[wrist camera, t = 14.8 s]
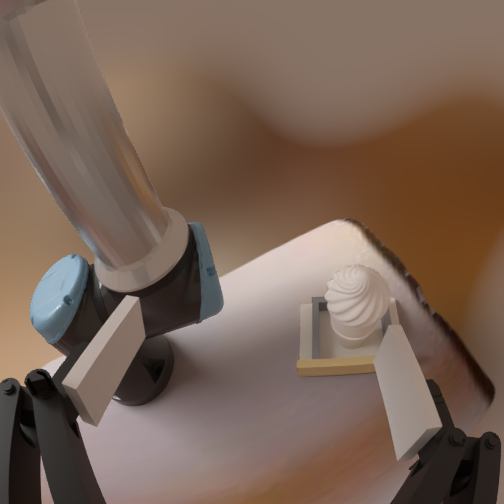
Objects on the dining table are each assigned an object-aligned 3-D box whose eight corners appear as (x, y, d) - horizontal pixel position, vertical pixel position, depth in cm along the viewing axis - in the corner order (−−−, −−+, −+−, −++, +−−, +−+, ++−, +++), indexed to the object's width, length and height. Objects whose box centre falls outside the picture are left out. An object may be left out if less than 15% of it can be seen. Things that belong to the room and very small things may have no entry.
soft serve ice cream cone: (315, 326, 45) (311, 257, 34) (361, 306, 45) (372, 233, 34) (338, 370, 39) (345, 313, 28) (387, 347, 39) (411, 281, 28)
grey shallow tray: (301, 306, 49) (299, 291, 46) (393, 300, 45) (398, 284, 42) (298, 377, 40) (296, 367, 37) (404, 370, 37) (412, 359, 34)
